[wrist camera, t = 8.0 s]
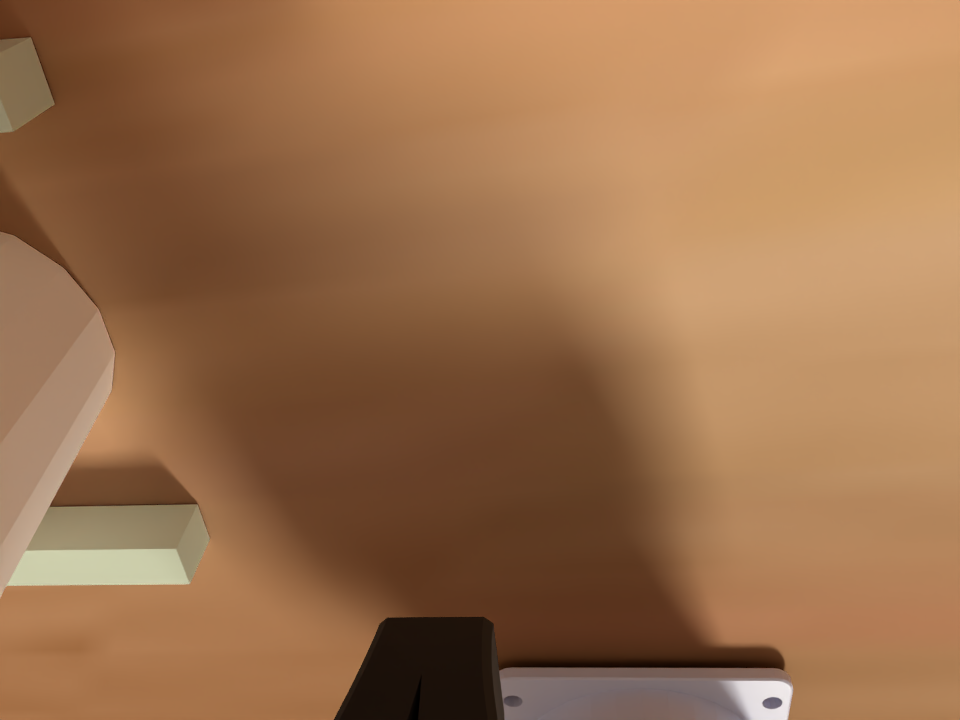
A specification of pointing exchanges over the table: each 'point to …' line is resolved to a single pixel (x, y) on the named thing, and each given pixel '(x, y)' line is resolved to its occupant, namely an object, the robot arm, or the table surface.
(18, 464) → the beige faceted cylinder
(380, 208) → the table surface
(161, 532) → the pale green angular frame
